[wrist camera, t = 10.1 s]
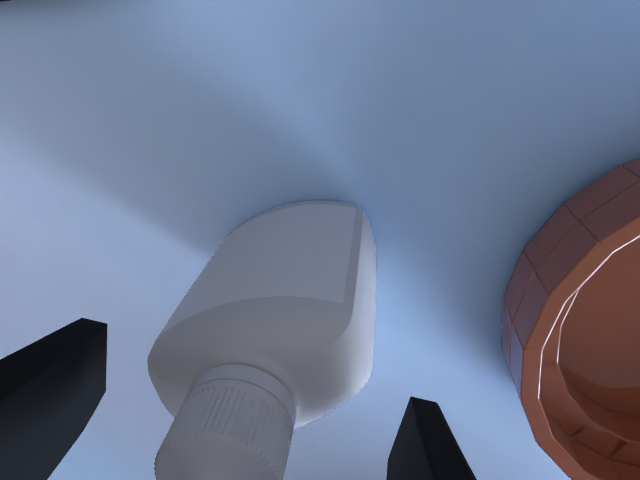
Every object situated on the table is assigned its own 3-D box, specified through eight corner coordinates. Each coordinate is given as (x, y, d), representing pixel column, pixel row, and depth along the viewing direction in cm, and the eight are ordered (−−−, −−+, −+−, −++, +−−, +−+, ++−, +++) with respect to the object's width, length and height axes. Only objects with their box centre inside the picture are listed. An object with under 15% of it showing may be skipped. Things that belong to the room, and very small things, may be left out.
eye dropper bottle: (236, 171, 18) (16, 412, 7) (389, 209, 18) (397, 509, 7) (220, 275, 20) (26, 590, 9) (358, 309, 20) (329, 668, 9)
